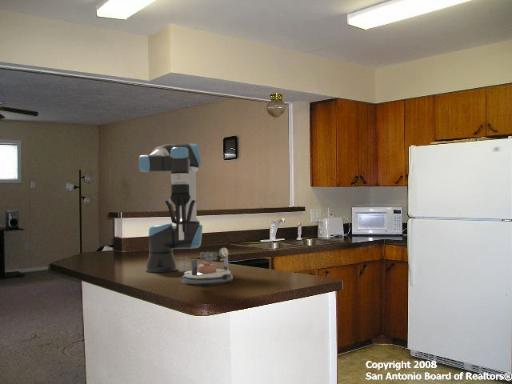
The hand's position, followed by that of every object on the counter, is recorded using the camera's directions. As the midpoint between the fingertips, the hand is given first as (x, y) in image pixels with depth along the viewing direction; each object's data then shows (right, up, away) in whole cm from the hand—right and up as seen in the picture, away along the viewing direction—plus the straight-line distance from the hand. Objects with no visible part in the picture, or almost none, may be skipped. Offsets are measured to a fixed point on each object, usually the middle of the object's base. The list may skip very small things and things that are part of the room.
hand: (181, 239), depth 215 cm
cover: (+10, -15, +6) cm, 19 cm away
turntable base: (+10, -18, +6) cm, 22 cm away
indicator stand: (+18, -18, +16) cm, 30 cm away
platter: (+11, -16, +5) cm, 20 cm away
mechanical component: (+9, -19, +28) cm, 35 cm away
